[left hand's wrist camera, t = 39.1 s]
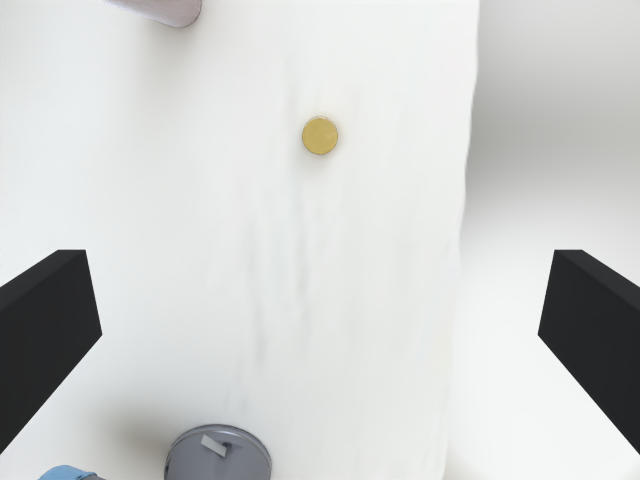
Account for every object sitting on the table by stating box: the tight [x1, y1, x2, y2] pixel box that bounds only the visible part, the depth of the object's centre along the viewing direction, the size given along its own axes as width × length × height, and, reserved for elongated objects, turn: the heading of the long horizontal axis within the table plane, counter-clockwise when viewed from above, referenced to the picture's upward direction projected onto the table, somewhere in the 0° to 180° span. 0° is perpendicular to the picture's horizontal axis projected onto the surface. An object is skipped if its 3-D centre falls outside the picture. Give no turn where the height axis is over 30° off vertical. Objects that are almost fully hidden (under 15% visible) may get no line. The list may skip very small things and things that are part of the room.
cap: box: [302, 117, 338, 154], centre depth 47 cm, size 4×4×2 cm
